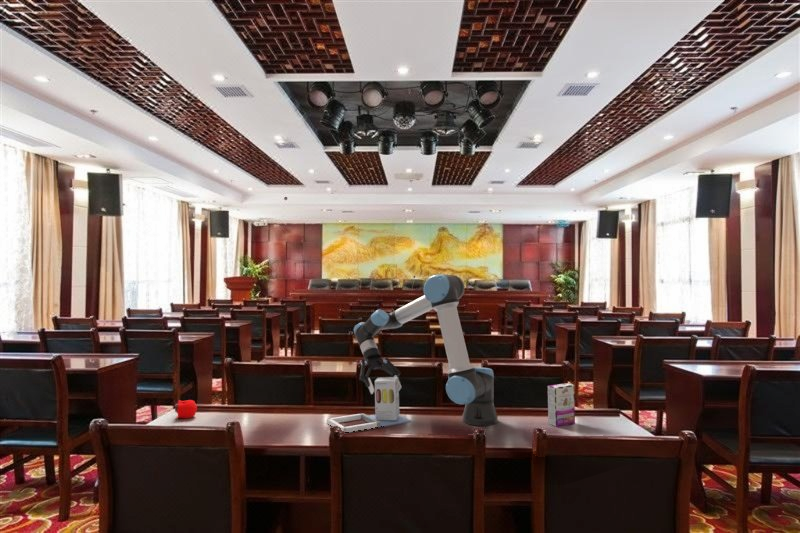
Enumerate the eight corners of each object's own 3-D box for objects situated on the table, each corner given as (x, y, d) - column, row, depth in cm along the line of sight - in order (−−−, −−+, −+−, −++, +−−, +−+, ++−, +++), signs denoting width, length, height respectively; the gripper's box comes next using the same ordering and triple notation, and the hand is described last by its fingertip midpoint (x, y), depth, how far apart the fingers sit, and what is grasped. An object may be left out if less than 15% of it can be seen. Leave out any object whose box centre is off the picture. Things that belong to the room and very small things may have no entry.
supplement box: (374, 420, 205) (373, 380, 206) (378, 414, 214) (377, 376, 215) (397, 420, 204) (395, 380, 204) (400, 414, 213) (398, 376, 214)
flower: (196, 407, 207) (176, 408, 205) (196, 422, 210) (176, 423, 207) (197, 396, 214) (178, 397, 211) (197, 410, 217) (177, 411, 214)
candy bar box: (566, 420, 208) (566, 382, 209) (575, 423, 204) (575, 385, 205) (547, 424, 203) (546, 385, 204) (556, 427, 199) (555, 387, 199)
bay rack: (411, 421, 206) (411, 417, 206) (342, 433, 189) (342, 428, 189) (392, 413, 219) (392, 408, 219) (326, 423, 202) (326, 418, 203)
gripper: (390, 354, 232) (407, 392, 218) (343, 358, 218) (358, 398, 205) (396, 345, 227) (413, 382, 214) (348, 348, 214) (364, 388, 201)
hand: (386, 390), depth 209 cm, fingers open, 13 cm apart
